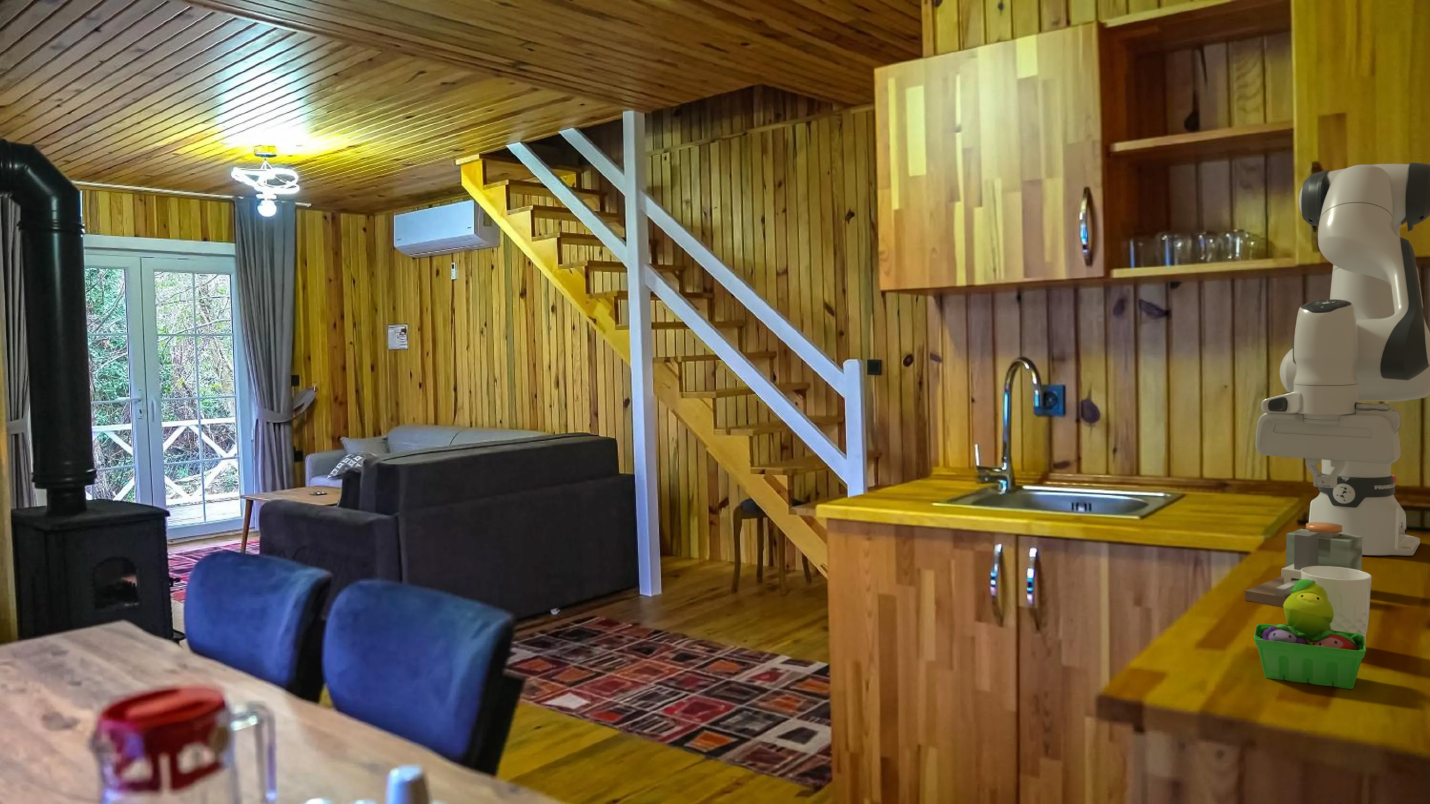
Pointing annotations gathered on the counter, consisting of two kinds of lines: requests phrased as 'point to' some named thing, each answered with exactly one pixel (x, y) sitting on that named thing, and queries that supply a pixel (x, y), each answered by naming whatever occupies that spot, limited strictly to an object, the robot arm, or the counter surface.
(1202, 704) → the counter surface
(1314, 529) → the button
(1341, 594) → the white cup
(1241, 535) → the counter surface
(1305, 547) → the carriage
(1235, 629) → the counter surface
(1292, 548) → the rail bed
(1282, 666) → the fruit basket
